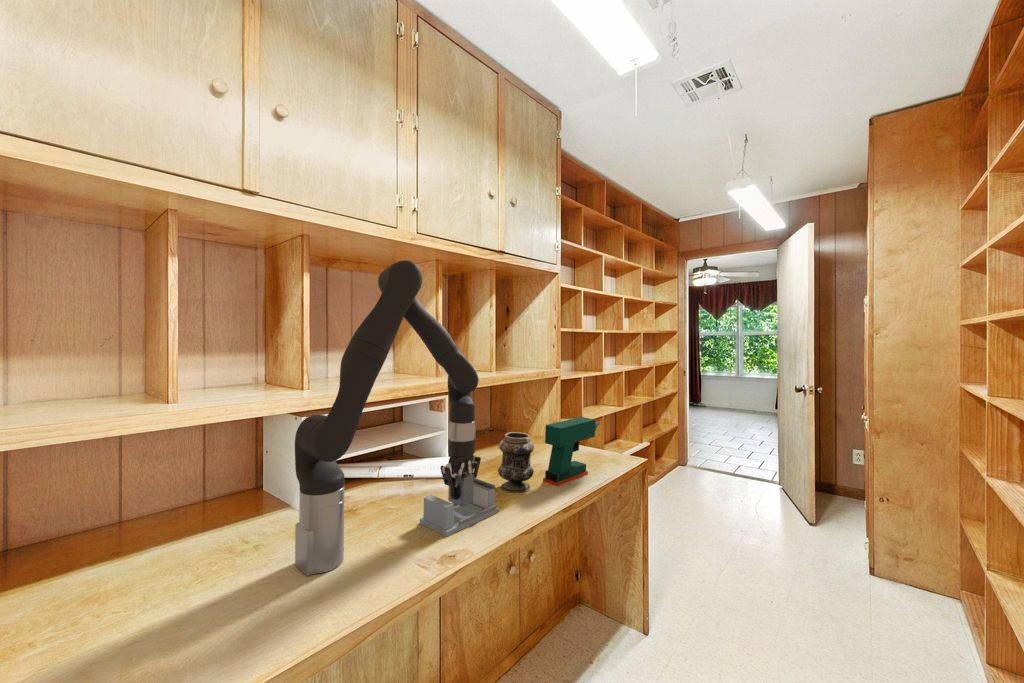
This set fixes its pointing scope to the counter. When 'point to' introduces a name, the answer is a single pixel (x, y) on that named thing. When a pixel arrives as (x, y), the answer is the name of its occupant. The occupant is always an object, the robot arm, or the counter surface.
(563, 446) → the power tool
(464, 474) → the block
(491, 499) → the free jaw
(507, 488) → the apothecary jar
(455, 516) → the vise base
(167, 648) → the counter surface
